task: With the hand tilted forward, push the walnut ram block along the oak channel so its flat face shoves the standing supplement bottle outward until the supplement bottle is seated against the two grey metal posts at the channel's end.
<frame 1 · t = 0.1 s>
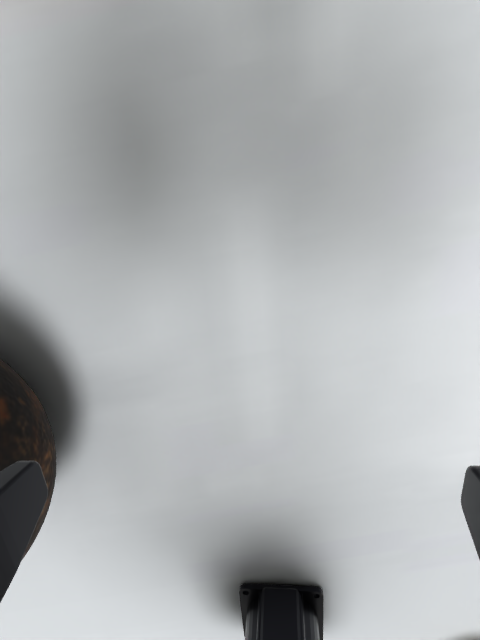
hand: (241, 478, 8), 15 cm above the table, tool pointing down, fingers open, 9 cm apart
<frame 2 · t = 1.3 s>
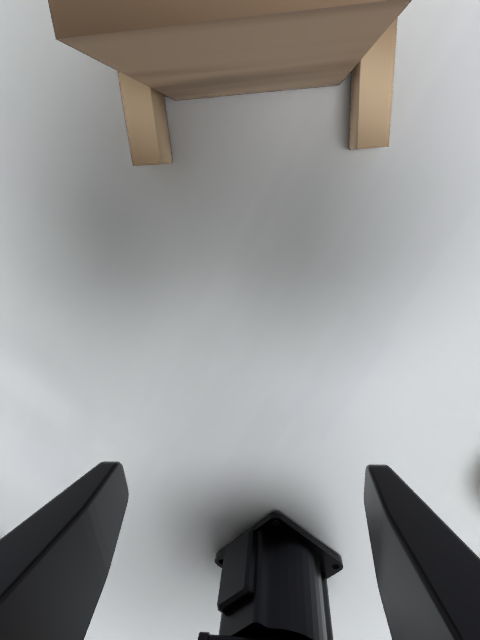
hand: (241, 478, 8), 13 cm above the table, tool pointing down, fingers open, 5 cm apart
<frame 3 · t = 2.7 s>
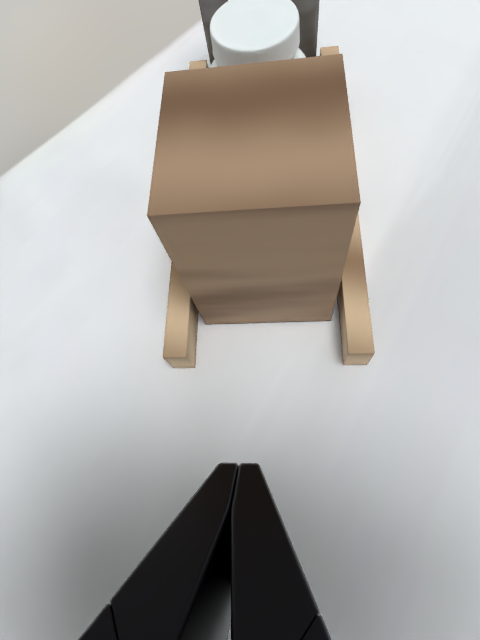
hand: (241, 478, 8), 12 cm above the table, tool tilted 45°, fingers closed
supplement bottle: (265, 175, 26), on the table
ram block: (260, 215, 19), point 5 cm above the table, slide at 0.0 cm
channel: (265, 200, 25), on the table
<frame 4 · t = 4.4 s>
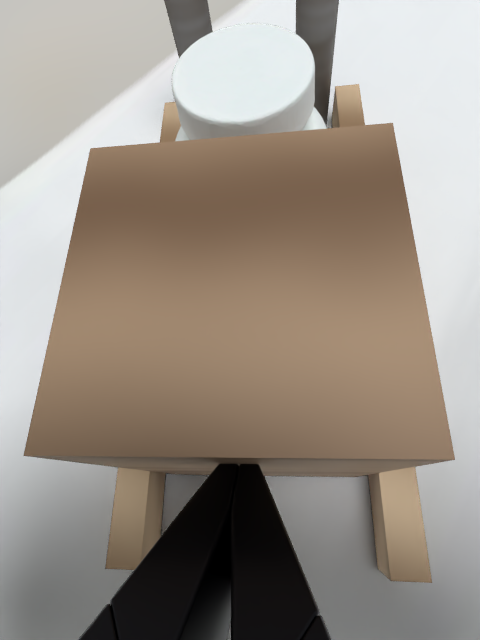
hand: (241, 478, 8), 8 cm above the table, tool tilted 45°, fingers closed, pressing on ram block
supplement bottle: (262, 257, 20), on the table
ram block: (253, 350, 12), point 5 cm above the table, slide at 0.5 cm, touching gripper
channel: (262, 294, 19), on the table
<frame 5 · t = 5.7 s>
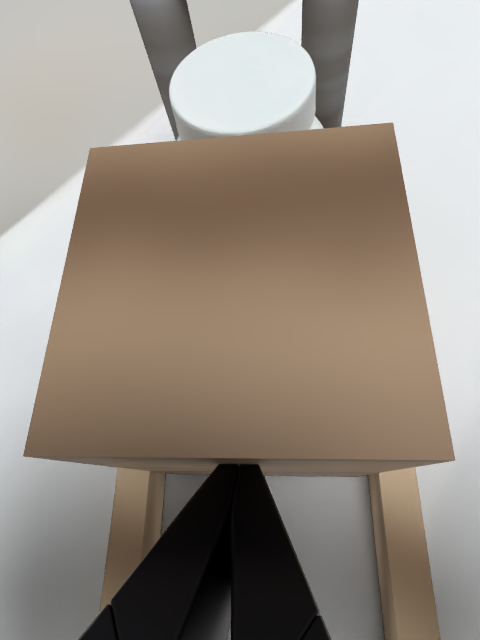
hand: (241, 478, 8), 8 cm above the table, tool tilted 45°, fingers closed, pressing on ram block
supplement bottle: (262, 266, 20), on the table, touching ram block
ram block: (253, 350, 12), point 5 cm above the table, slide at 5.0 cm, touching supplement bottle, gripper
channel: (263, 388, 17), on the table
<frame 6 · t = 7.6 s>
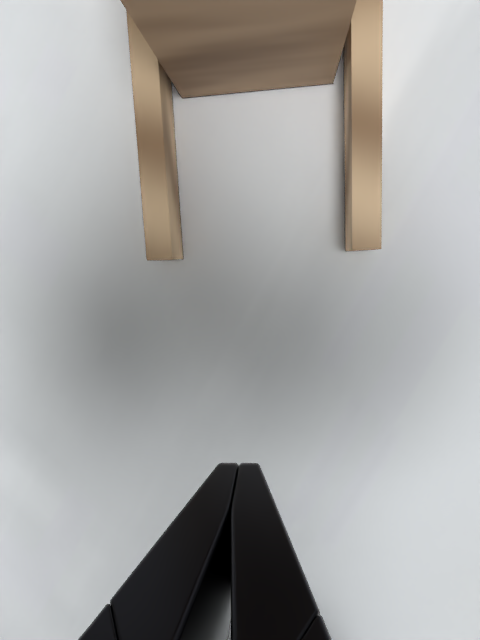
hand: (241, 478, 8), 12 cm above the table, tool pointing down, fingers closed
channel: (252, 8, 18), on the table
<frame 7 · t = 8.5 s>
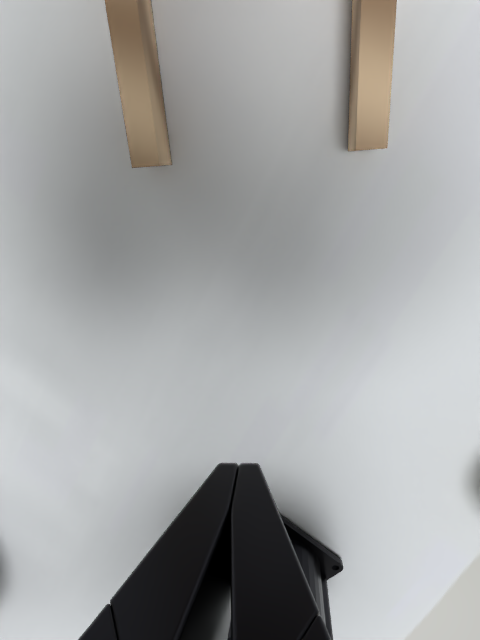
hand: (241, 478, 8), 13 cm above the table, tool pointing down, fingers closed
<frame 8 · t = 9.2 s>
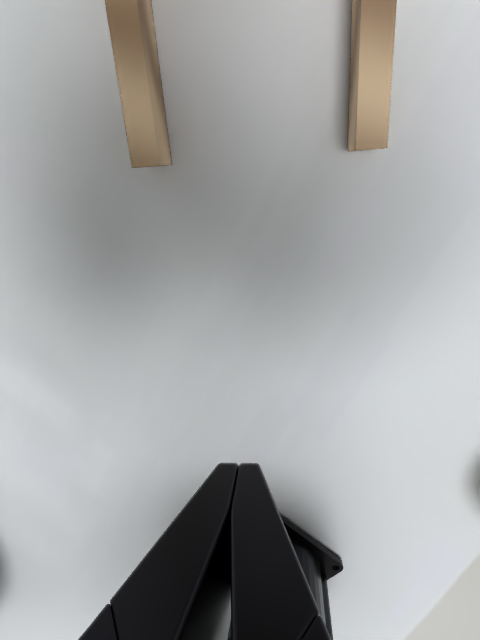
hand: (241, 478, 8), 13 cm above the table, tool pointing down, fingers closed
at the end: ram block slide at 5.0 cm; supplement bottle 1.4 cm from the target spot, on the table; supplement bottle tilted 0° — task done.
